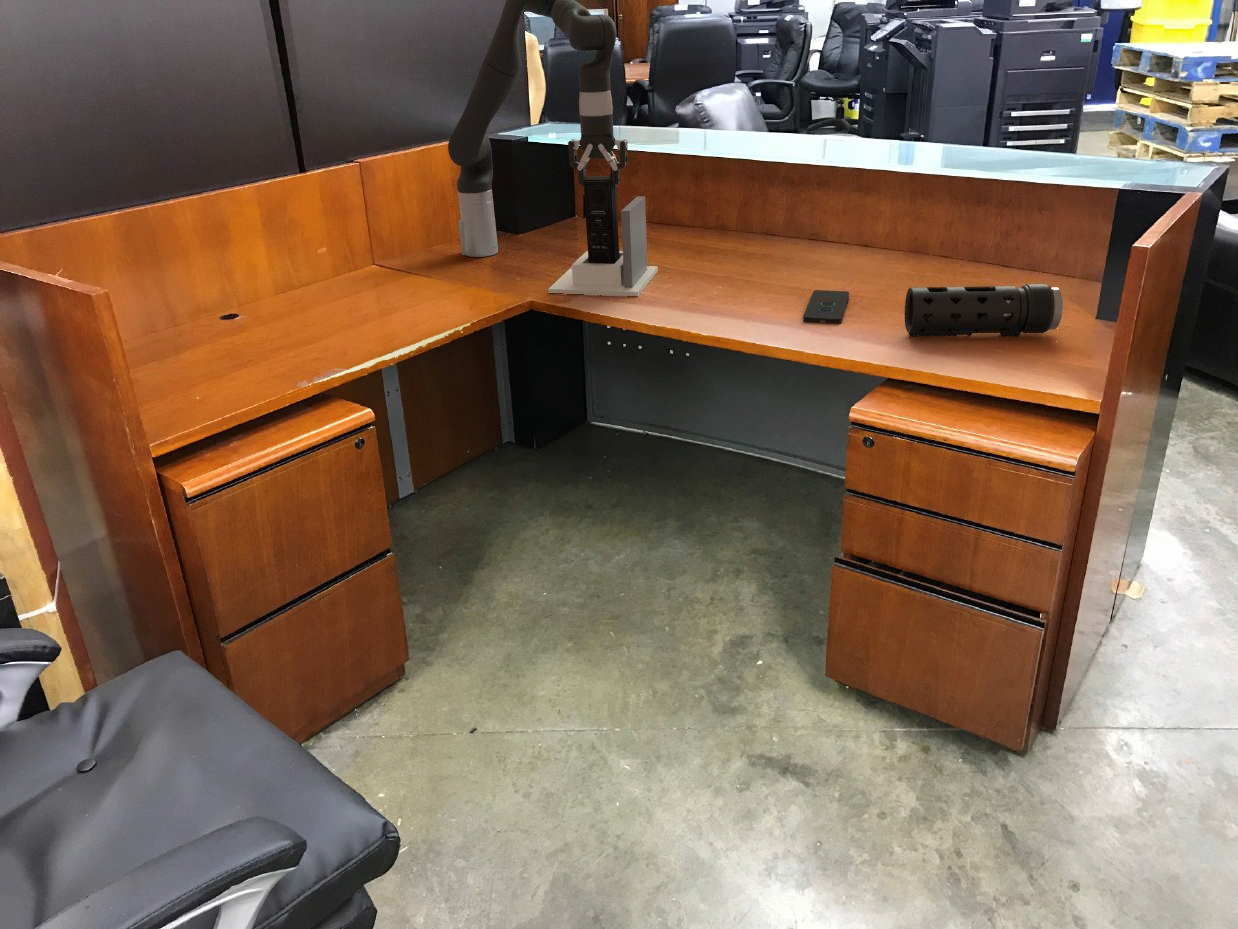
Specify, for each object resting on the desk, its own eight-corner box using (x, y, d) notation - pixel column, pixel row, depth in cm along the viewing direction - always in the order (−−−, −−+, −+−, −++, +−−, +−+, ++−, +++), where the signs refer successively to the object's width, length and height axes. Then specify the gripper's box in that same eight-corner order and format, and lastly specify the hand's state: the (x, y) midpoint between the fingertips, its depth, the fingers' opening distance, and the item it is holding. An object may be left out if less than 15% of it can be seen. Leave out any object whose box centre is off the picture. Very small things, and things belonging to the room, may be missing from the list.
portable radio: (584, 275, 234) (576, 169, 222) (591, 268, 239) (584, 165, 228) (614, 276, 232) (608, 169, 220) (621, 269, 237) (616, 165, 225)
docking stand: (548, 293, 229) (542, 212, 221) (574, 268, 248) (569, 193, 239) (637, 296, 224) (635, 213, 215) (657, 270, 243) (655, 193, 234)
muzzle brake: (902, 329, 197) (906, 280, 192) (1043, 327, 194) (1052, 277, 189) (910, 345, 188) (915, 294, 184) (1058, 343, 185) (1067, 291, 181)
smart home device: (801, 316, 202) (813, 289, 219) (801, 324, 203) (812, 296, 220) (842, 318, 200) (850, 290, 217) (841, 326, 201) (849, 298, 218)
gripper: (561, 114, 217) (565, 189, 224) (622, 114, 213) (625, 189, 221) (570, 110, 223) (575, 182, 231) (630, 109, 220) (633, 183, 227)
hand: (599, 186), depth 226 cm, fingers closed on portable radio, 7 cm apart
